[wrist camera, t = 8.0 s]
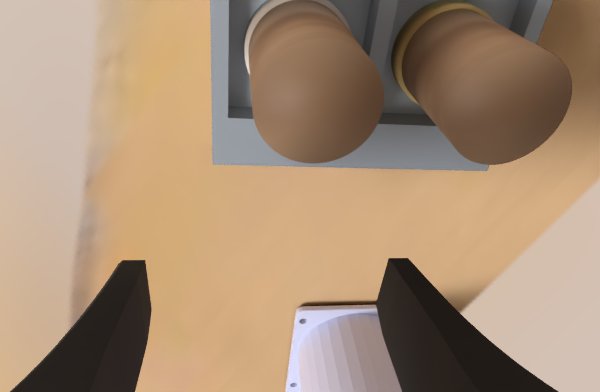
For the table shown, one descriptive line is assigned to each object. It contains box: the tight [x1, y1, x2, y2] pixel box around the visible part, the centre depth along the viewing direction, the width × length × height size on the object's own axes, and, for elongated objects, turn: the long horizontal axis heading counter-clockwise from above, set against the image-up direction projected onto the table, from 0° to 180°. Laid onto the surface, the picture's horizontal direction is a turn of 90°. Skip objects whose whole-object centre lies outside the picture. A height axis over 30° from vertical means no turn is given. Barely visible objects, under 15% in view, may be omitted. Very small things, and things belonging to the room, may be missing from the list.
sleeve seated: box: [244, 0, 384, 164], centre depth 16 cm, size 4×4×6 cm
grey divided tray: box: [210, 0, 553, 171], centre depth 19 cm, size 10×13×2 cm
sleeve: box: [391, 0, 572, 165], centre depth 17 cm, size 4×4×6 cm
